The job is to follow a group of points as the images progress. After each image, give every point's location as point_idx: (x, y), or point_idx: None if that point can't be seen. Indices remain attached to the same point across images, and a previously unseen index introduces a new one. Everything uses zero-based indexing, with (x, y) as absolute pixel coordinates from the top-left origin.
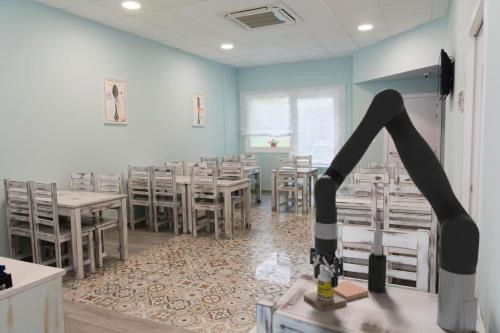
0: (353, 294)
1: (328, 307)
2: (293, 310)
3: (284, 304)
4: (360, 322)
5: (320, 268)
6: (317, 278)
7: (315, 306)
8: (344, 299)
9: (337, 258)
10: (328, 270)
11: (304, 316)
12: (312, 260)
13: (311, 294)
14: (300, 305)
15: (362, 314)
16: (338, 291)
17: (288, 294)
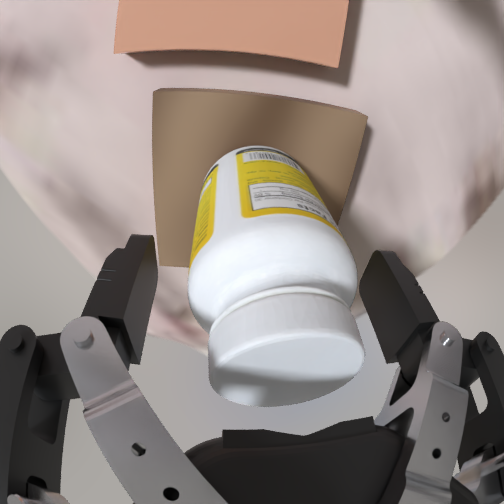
0: (343, 5)
1: None
2: None
3: (176, 327)
4: (459, 204)
5: (224, 397)
6: (156, 263)
7: None
8: (353, 115)
9: (492, 500)
10: (330, 372)
11: None
12: (64, 419)
13: (175, 232)
14: None
15: (450, 142)
16: (239, 45)
17: (97, 274)
